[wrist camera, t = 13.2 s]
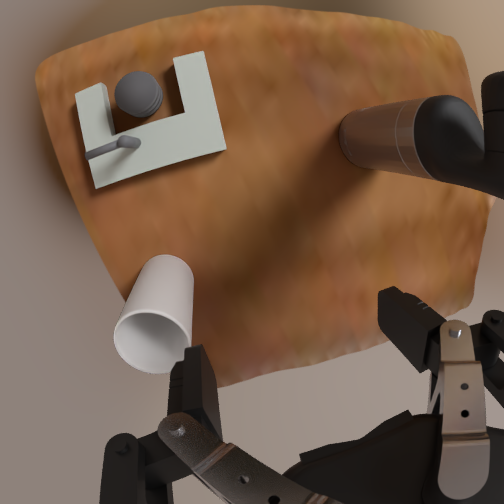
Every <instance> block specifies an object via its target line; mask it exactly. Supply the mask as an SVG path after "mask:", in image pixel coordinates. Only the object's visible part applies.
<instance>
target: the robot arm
mask: <svg viewBox="0 0 504 504" xmlns="http://www.w3.org/2000/svg"><path fill="white" fill-rule="evenodd" d="M481 97H482V109H483V110H482V111H483V125H484V132H483V129H482V126H481V124H480V121H479V119H478V117H477V116H476V114H475V112H474V111H473V110H472V108H471V107H470V106H469V105H468V104H467V103H466V102H465V101H463V100H462V99H460V98H458V97H455V96H451V95H441V96H433V97H427V98H420V99H414V100H408V101H401V102H395V103H390V104H384V105H379V106H374V107H368V108H363V109H359V110H355V111H352V112H351V113H349V114H348V115H347V116H346V117H345V118H344V119H343V121H342V123H341V126H340V129H339V142H340V146H341V149H342V151H343V153H344V155H345V156H346V157H347V159H348V160H349V161H351V162H352V163H353V164H355V165H357V166H359V167H362V168H369V169H375V170H382V171H388V172H394V173H400V174H405V175H411V176H416V177H421V178H427V179H432V180H437V181H441V182H446V183H451V184H456V185H460V186H464V187H468V188H472V189H475V190H479V191H482V192H485V193H488V194H490V195H493V196H496V197H498V198H501V199H504V71H502V72H496V73H493V74H490V75H489V76H487V77H486V78H485V79H484V80H483V82H482V85H481ZM378 324H379V327H380V329H381V330H382V332H383V333H384V334H385V335H386V336H387V337H388V338H389V339H390V341H391V342H392V343H393V344H394V345H395V346H396V347H397V348H398V349H399V350H400V351H401V352H402V354H403V355H404V356H405V357H406V358H407V359H408V360H409V361H410V363H411V364H412V365H413V366H414V367H415V368H416V369H417V370H418V372H419V373H422V372H424V371H425V370H427V369H430V371H431V374H430V385H429V398H428V408H427V414H418V415H414V416H412V415H411V413H410V412H409V410H406V411H404V412H402V413H400V414H398V415H396V416H394V417H392V418H390V419H388V420H386V421H384V422H383V423H381V424H380V425H379V426H378V427H376V428H375V429H373V430H372V431H371V432H369V433H368V434H367V435H365V436H364V437H362V438H361V439H358V440H353V441H348V442H342V443H335V444H328V445H325V446H322V447H320V448H317V449H314V450H311V451H308V452H304V453H301V454H299V455H300V460H301V461H300V462H298V463H297V464H295V465H293V466H292V467H291V468H289V469H288V470H287V471H286V472H284V474H282V475H281V474H279V473H278V472H276V471H274V470H273V469H271V468H270V467H268V466H266V465H264V464H263V463H261V462H260V461H258V460H257V459H255V458H253V457H252V456H251V455H249V454H248V453H246V452H245V451H243V450H242V449H240V448H239V447H238V446H236V445H234V444H232V443H228V444H226V443H225V442H223V438H222V429H221V421H220V412H219V403H218V393H217V383H216V378H215V374H214V371H213V369H212V366H211V364H210V361H209V359H208V357H207V354H206V352H205V349H204V347H203V345H202V344H200V345H196V346H192V347H187V348H185V350H184V360H183V361H178V362H176V363H175V365H174V366H173V368H172V370H171V374H170V385H169V388H170V389H169V399H168V410H167V411H168V412H167V417H165V418H164V419H163V420H162V421H161V422H160V424H159V426H158V430H157V431H155V432H154V433H151V434H149V435H146V436H144V437H141V438H138V439H136V437H135V436H133V435H132V434H129V433H121V434H118V435H115V436H114V437H112V438H111V439H110V440H109V441H108V443H107V445H106V447H105V453H104V461H103V469H102V479H101V490H100V502H99V503H100V504H174V502H173V491H172V482H173V481H176V480H179V479H181V478H184V477H186V476H189V475H191V474H193V475H194V476H195V477H196V478H197V479H198V480H199V481H200V482H201V483H202V484H204V485H205V486H206V487H207V488H208V489H210V490H211V491H212V492H213V493H214V494H215V495H216V496H218V497H219V498H220V499H221V500H222V501H224V502H225V503H226V504H504V429H499V428H493V427H489V426H486V408H485V393H484V386H485V387H486V388H487V389H488V391H489V392H490V393H491V394H492V395H493V396H494V397H495V399H496V400H497V401H498V402H499V403H500V404H501V406H502V407H503V408H504V362H503V361H502V360H501V359H500V358H499V357H498V356H499V354H500V351H502V352H503V353H504V312H502V311H499V310H490V311H487V312H486V313H485V314H484V315H483V319H482V323H478V324H475V325H471V326H468V325H467V324H466V323H465V322H462V321H459V320H449V321H447V320H446V319H444V318H443V317H442V316H441V315H439V314H438V313H437V312H436V311H434V310H433V309H432V308H431V307H428V305H427V304H425V303H424V302H423V301H422V300H420V299H419V298H418V297H416V296H415V295H412V294H409V293H403V292H402V291H400V290H399V289H398V288H396V287H395V286H392V287H389V288H387V289H384V290H381V291H379V293H378Z"/></svg>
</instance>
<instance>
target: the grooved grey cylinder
mask: <svg viewBox="0 0 504 504" xmlns="http://www.w3.org/2000/svg"><path fill="white" fill-rule="evenodd" d="M115 100H116V103H117V105H118V107H119V108H120V109H121V110H123V111H125V112H127V113H129V114H131V115H132V116H135V117H147V116H150V115H152V114H153V113H155V112H156V111H157V110H158V109H159V107H160V105H161V103H162V100H163V92H162V89H161V87H160V86H159V84H158V83H157V81H156V80H155V78H154V77H153V76H152V75H150V74H149V73H146V72H141V71H136V72H131V73H129V74H127V75H125V76H124V77H123V78H122V79H121V80H120V81H119V82H118V84H117V86H116V89H115Z"/></svg>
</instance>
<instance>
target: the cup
mask: <svg viewBox="0 0 504 504" xmlns="http://www.w3.org/2000/svg"><path fill="white" fill-rule="evenodd" d="M193 291H194V277H193V273H192V271H191V269H190V267H189V266H188V265H187V264H186V263H185V262H184V261H183V260H182V259H180V258H178V257H176V256H173V255H158V256H155V257H153V258H151V259H150V260H148V261H147V262H146V263H145V265H144V266H143V268H142V270H141V272H140V274H139V276H138V278H137V280H136V282H135V284H134V286H133V288H132V291H131V293H130V295H129V297H128V299H127V301H126V304H125V306H124V308H123V310H122V312H121V315H120V317H119V319H118V322H117V324H116V327H115V330H114V335H113V340H114V345H115V348H116V350H117V352H118V354H119V355H120V357H121V358H122V359H123V360H124V361H125V362H126V363H127V364H129V365H130V366H132V367H133V368H135V369H137V370H139V371H142V372H145V373H150V374H166V373H170V372H171V370H172V368H173V366H174V365H175V363H176V362H178V361H183V360H184V350H185V348H187V347H191V338H192V311H193Z"/></svg>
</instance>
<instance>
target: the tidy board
mask: <svg viewBox="0 0 504 504" xmlns="http://www.w3.org/2000/svg"><path fill="white" fill-rule="evenodd" d="M173 61H174V66H175V70H176V75H177V79H178V84H179V88H180V93H181V97H182V101H183V106H184V110H185V113H182V114H178V115H175V116H171V117H168V118H164V119H161V120H158V121H155V122H151V123H148V124H145V125H142V126H139V127H136V128H133V129H130V130H127V131H125V132H122V133H119V134H116V132H115V128H114V123H113V118H112V113H111V109H110V103H109V98H108V93H107V87H106V86H105V85H104V84H102V83H99V84H96V85H94V86H91V87H89V88H87V89H85V90H82V91H80V92H78V93H76V94H75V97H76V103H77V109H78V114H79V119H80V125H81V130H82V134H83V139H84V144H85V148H86V152H85V158H86V160H88V161H89V165H90V169H91V172H92V176H93V180H94V184H95V187H96V189H97V188H100V187H103V186H106V185H108V184H111V183H114V182H117V181H120V180H123V179H125V178H128V177H131V176H134V175H137V174H140V173H143V172H147V171H150V170H153V169H156V168H159V167H163V166H166V165H169V164H173V163H176V162H180V161H183V160H187V159H191V158H194V157H198V156H202V155H206V154H209V153H213V152H217V151H222V150H226V149H227V148H226V144H225V140H224V136H223V132H222V127H221V123H220V119H219V115H218V110H217V106H216V102H215V98H214V94H213V89H212V85H211V81H210V77H209V72H208V68H207V64H206V60H205V56H204V51H201V52H196V53H192V54H188V55H184V56H180V57H176V58H173Z"/></svg>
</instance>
